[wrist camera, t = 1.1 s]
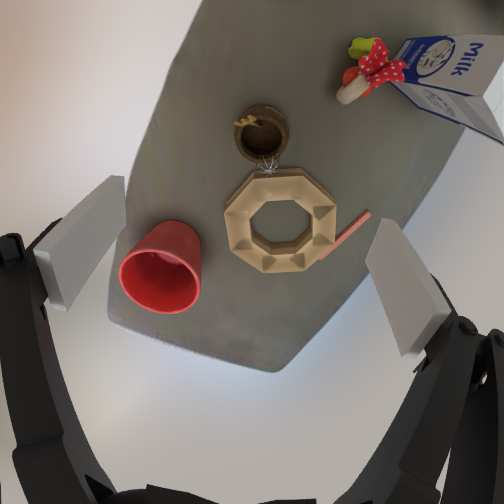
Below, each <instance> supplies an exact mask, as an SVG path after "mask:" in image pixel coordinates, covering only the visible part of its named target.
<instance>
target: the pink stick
mask: <svg viewBox="0 0 504 504" xmlns="http://www.w3.org/2000/svg"><path fill="white" fill-rule="evenodd" d="M370 216H371V213H370V212H369V211H368V210H367V209H366V210H365V211H364V212H363V213H362V214H361V215H360V216H359V217H358V218H356V219H355V220H354V221H353V222H352V223H351V224H350V225H349V226H348V227H347V228H346V229H344V230H343V231H342V232H341V233H340V234H339V235H338V236H337V237H336V238H335V245H333V246H332V247H331V248H330V249H329V250H328V251H327V252H326V253H324V254H323V255H322V256H321V257H320V258H319V259H320V260H322V259H323V258H324V257H325V256H327V255H328V254H329V253H330V252H331V251H332V250H334V249H335V248H336V247H337V246H338V245H339V244H340V243H341V242H343V241H344V240H345V239H346V238H347V237H348V236H349V235H350V234H352V233H353V232H354V231H355V230H356V229H357V228H358V227H359V226H360V225H362V224H363V223H364V222H365V221H366V220H367V219H368V218H369V217H370Z"/></svg>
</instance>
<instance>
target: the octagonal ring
mask: <svg viewBox="0 0 504 504" xmlns="http://www.w3.org/2000/svg"><path fill="white" fill-rule="evenodd" d="M279 170H280V171H279ZM271 171H273V172H274V175H273V172H271V173H270V172H268V171H267V170H264V172H263V170H258V171H254V172H253V173H252V174H251V175H250V176H249V177H248V178H247V180H246V181H245V182H244V183H243V184H242V185H241V186H240V188H239V189H238V190H237V191H236V192H235V193H234V194H233V196H232V197H231V198H230V199H229V200H228V201H227V203H226V207H225V210H224V216H225V222H226V228H227V234H228V240H229V245H230V251H231V252H233V253H234V254H236V255H237V256H239V257H240V258H242V259H243V260H245V261H246V262H248V263H249V264H251V265H252V266H254V267H255V268H257V269H258V270H260V271H261V272H263V273H275V272H291V271H305V270H306V269H307V268H308V267H309V266H311V265H312V264H313V263H314V262H315V261H316V260H318V259H319V258H320V257H321V256H322V255H323V254H324V253H326V252H327V251H328V250H329V249H330V248H331V247H332V246H333V245H335V227H336V204H335V201H334V199H333V197H332V195H331V194H330V193H328V192H327V191H326V190H325V189H324V188H323V187H322V186H321V185H319V184H318V183H317V182H316V181H315V180H314V179H313V178H311V177H310V176H309V175H308V174H307V173H306V172H305V171H303V170H302V169H301V168H286V169H273V170H272V169H271ZM277 171H279V172H277ZM259 172H260V173H259ZM265 172H267V173H265ZM268 173H269V174H268ZM264 174H265V176H264ZM271 174H272V175H273V176H272V175H271ZM267 175H268V176H267ZM266 176H267V177H266ZM277 200H295V201H296V202H297V203H298V204H300V205H301V206H302V207H303V208H304V209H306V210H307V211H308V212H309V213H310V227H309V228H308V229H307V230H306V231H305V232H304V233H303V234H301V235H300V236H299V237H298V238H297V239H296V240H295V241H294V242H281V243H270V242H268V241H267V240H266V239H264V238H263V237H262V236H260V235H259V234H257V233H256V232H255V231H253V229H252V220H251V217H252V216H253V215H254V214H255V212H256V211H257V210H258V209H259V208H260V207H261V206H262V205H263V204H264V203H265V202H266V201H277Z"/></svg>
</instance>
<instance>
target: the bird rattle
mask: <svg viewBox="0 0 504 504" xmlns="http://www.w3.org/2000/svg"><path fill="white" fill-rule="evenodd" d="M348 53H349V55H350V56H351V58H352V59H356V60H359V62H358V64H359V67H351V68H349V69H348V70H346V71H345V73H344V74H343V77H342V84H343V85H342V87H341V88H340V89H339V90H338V92H337V94H336V99H337V100H338V101H339V102H340V103H341V104H343V105H346V104H349V103H351V102H352V101H354V100H355V99H356V98H358V97H365V96H367V95H369V94H370V93H371V92H372V90H373V88H374V87H378V86H380V85H381V84H383V83H384V82H385V81H392V82H404V81H405V77H404V74H403V72H402V70H401V69H403V68H405V67H406V63H405V62H404V61H402V60H391V61H389V60H387V57H388V55H389V50H388V49H387V48H386V46H385V45H384V43H383V42H382V40H381V39H380V38H377V37H374V38H369V39H365V38H362V37H358V38H355V39H354V40H353V42H352V46H351V47H350V48H348Z"/></svg>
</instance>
